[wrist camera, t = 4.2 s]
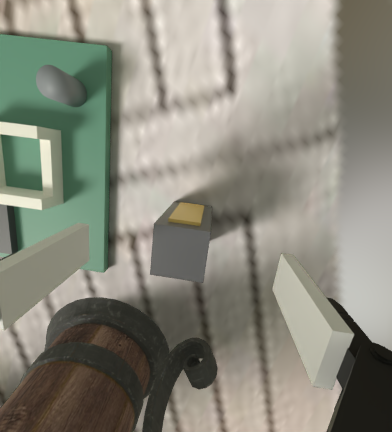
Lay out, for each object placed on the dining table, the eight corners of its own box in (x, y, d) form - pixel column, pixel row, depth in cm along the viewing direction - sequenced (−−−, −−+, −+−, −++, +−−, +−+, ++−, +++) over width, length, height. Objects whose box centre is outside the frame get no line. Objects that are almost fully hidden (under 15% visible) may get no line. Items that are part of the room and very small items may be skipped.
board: (107, 268, 26) (89, 287, 22) (-22, 248, 26) (-62, 263, 23) (112, 51, 20) (87, 25, 16) (-55, 32, 21) (-117, 3, 17)
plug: (206, 242, 24) (203, 282, 16) (170, 237, 24) (150, 274, 16) (212, 204, 23) (211, 228, 15) (174, 199, 23) (154, 220, 15)
